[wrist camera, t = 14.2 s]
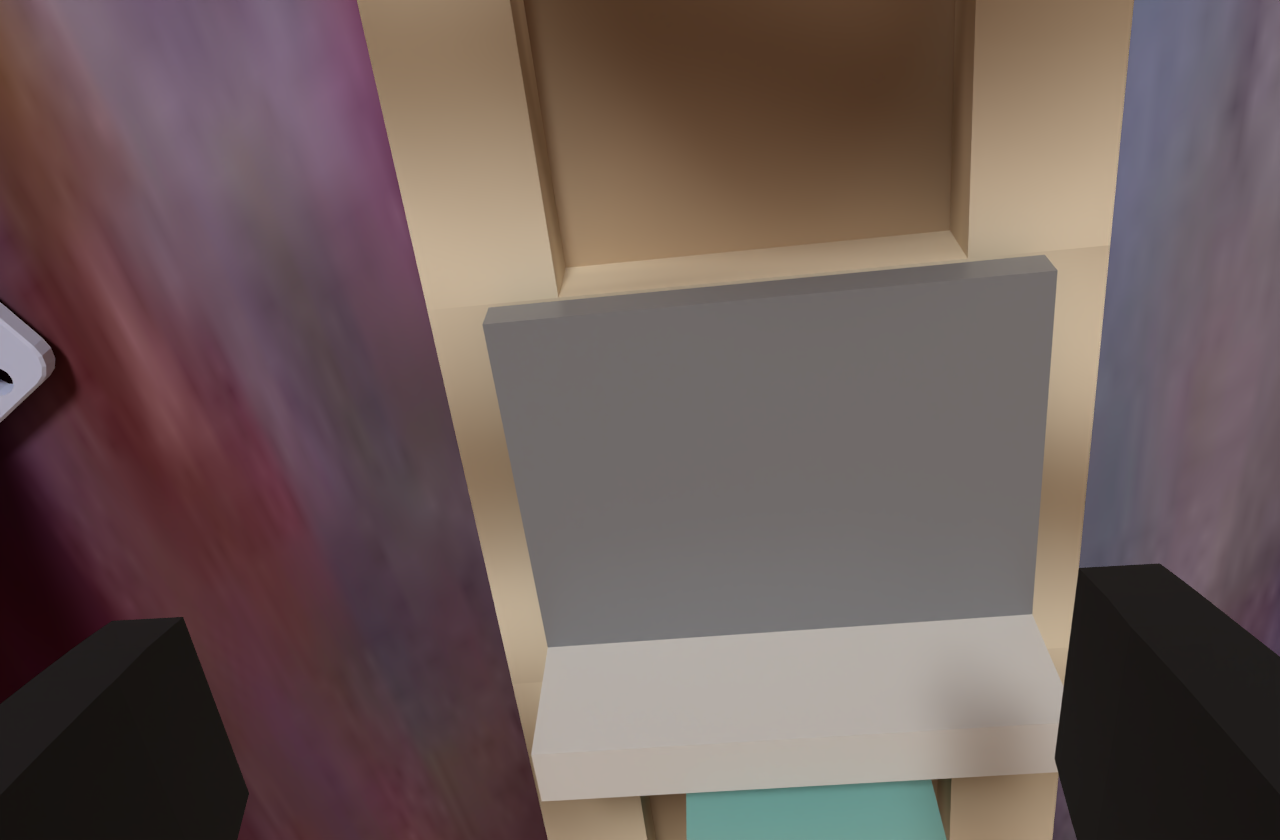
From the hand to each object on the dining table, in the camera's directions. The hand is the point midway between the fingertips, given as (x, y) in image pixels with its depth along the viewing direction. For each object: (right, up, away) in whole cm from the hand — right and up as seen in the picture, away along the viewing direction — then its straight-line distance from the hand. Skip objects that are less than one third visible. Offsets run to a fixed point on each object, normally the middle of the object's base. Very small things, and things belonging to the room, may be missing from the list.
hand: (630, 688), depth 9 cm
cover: (+2, +1, +9) cm, 9 cm away
